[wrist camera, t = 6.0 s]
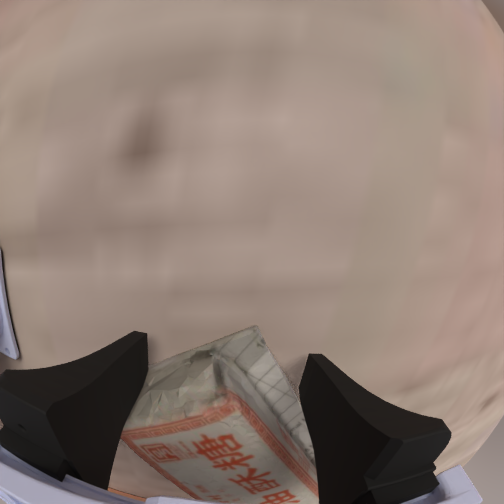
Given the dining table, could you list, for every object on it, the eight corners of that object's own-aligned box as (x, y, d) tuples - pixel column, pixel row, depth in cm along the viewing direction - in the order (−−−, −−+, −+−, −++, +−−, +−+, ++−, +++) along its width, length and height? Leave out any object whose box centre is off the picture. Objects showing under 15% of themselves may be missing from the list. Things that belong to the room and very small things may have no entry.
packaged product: (69, 427, 9) (263, 379, 8) (103, 374, 14) (255, 315, 13) (240, 542, 13) (358, 514, 12) (240, 502, 17) (344, 473, 17)
